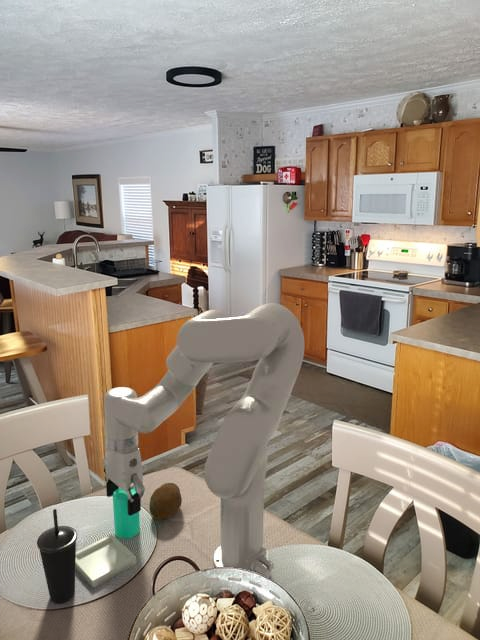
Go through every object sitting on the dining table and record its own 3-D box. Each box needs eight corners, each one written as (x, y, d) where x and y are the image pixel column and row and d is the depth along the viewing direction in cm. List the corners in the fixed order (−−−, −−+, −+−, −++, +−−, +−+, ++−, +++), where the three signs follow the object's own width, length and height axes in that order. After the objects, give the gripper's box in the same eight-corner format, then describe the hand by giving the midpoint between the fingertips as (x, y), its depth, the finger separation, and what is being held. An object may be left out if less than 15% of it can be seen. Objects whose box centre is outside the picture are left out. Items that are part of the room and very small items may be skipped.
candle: (134, 540, 122) (131, 495, 119) (110, 536, 123) (107, 492, 120) (143, 524, 128) (141, 482, 125) (121, 521, 129) (118, 479, 126)
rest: (136, 563, 114) (135, 556, 114) (93, 588, 107) (92, 580, 107) (111, 540, 122) (111, 534, 121) (70, 562, 115) (69, 555, 114)
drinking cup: (60, 577, 110) (52, 495, 105) (89, 587, 108) (83, 503, 103) (34, 602, 103) (25, 516, 98) (65, 614, 101) (56, 526, 96)
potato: (185, 500, 138) (184, 474, 136) (178, 529, 126) (177, 502, 124) (155, 499, 138) (154, 474, 136) (145, 528, 126) (144, 501, 124)
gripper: (156, 448, 116) (156, 514, 121) (116, 422, 128) (118, 482, 132) (127, 459, 111) (129, 527, 115) (89, 431, 123) (91, 493, 127)
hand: (123, 503), depth 124 cm, fingers open, 9 cm apart
